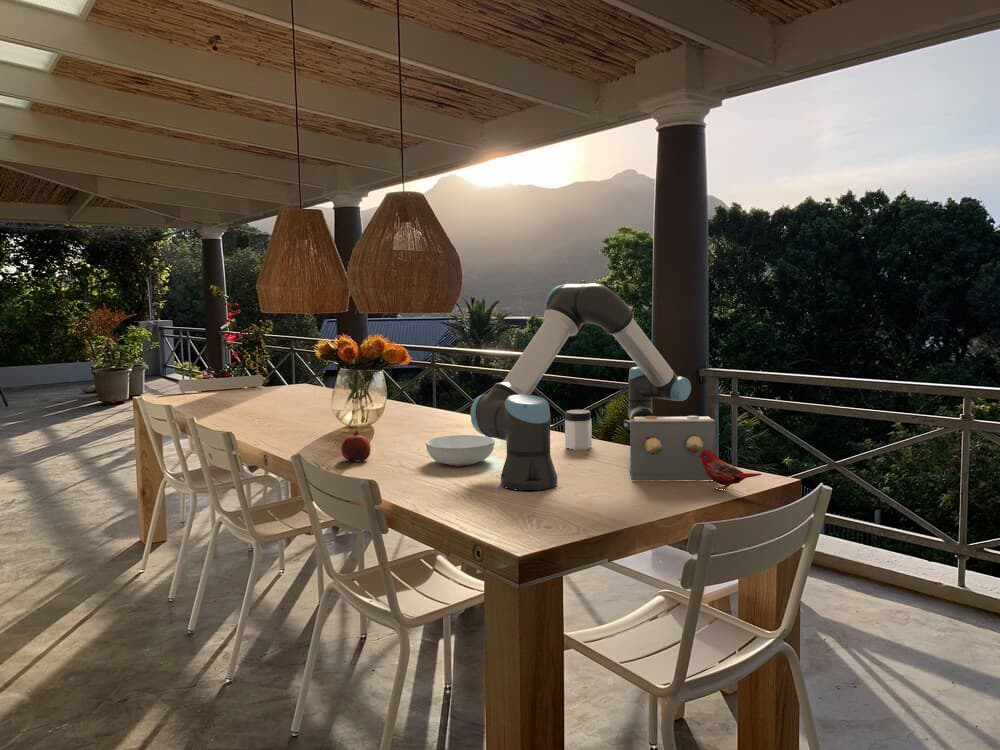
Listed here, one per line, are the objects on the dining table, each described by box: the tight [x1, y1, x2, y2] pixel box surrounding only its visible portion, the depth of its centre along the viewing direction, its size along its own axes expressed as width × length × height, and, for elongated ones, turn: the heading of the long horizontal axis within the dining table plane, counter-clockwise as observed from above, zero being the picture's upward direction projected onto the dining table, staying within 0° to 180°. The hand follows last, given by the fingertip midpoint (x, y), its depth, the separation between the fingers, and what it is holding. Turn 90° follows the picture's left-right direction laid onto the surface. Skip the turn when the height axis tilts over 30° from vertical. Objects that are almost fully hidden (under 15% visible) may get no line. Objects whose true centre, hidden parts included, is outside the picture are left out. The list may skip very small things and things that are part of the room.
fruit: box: [340, 428, 371, 462], centre depth 225 cm, size 9×10×10 cm
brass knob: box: [644, 437, 662, 455], centre depth 195 cm, size 9×4×4 cm, turn 174°
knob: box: [685, 435, 703, 453], centre depth 196 cm, size 9×4×4 cm, turn 174°
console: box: [629, 415, 716, 480], centre depth 196 cm, size 6×22×17 cm, turn 84°
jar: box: [564, 409, 593, 451], centre depth 237 cm, size 9×8×12 cm
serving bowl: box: [425, 434, 495, 466], centre depth 220 cm, size 21×21×7 cm
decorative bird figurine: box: [698, 449, 762, 491], centre depth 182 cm, size 3×18×10 cm, turn 42°
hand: (649, 434), depth 205 cm, fingers closed
